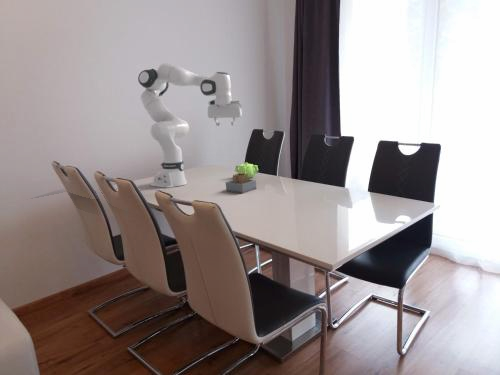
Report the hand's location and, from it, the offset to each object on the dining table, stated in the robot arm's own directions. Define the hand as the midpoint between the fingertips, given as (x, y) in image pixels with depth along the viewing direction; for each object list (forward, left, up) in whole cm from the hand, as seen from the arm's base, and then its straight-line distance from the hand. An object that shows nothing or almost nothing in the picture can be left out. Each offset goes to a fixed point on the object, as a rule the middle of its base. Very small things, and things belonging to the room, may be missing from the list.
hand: (225, 125), depth 238 cm
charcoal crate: (+12, -12, -35) cm, 39 cm away
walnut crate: (+12, -12, -34) cm, 38 cm away
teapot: (+5, +19, -35) cm, 40 cm away
